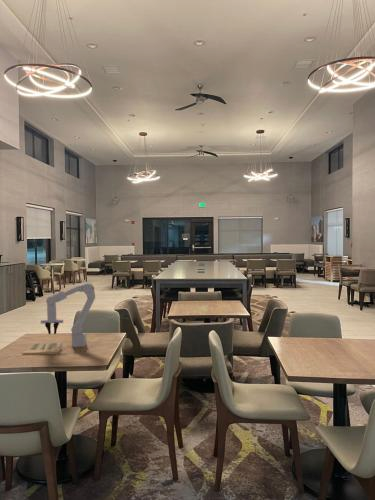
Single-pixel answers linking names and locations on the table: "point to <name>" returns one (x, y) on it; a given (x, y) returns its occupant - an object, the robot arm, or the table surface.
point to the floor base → (41, 352)
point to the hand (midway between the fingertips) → (52, 333)
